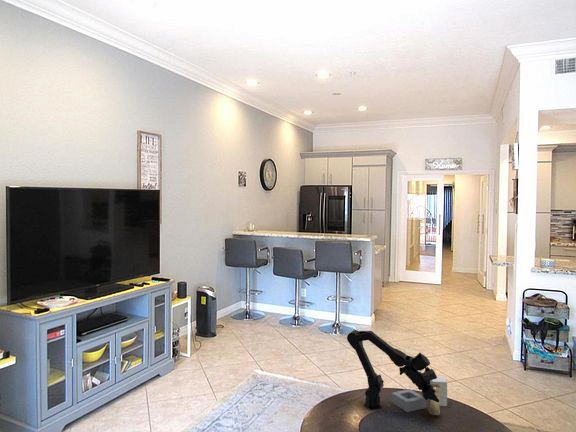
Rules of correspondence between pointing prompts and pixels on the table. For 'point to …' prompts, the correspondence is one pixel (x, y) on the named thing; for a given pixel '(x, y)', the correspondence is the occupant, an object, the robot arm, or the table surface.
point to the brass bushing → (433, 405)
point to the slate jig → (408, 400)
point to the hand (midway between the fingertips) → (437, 399)
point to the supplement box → (443, 392)
